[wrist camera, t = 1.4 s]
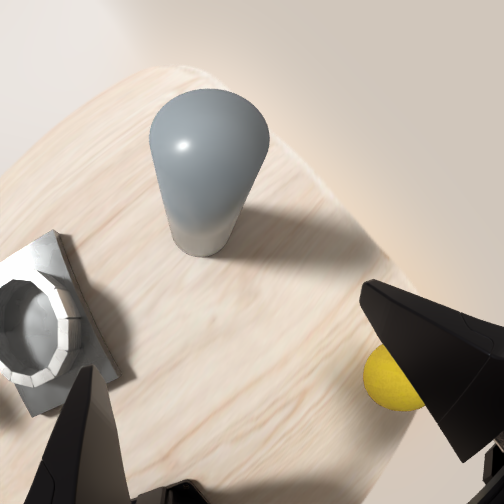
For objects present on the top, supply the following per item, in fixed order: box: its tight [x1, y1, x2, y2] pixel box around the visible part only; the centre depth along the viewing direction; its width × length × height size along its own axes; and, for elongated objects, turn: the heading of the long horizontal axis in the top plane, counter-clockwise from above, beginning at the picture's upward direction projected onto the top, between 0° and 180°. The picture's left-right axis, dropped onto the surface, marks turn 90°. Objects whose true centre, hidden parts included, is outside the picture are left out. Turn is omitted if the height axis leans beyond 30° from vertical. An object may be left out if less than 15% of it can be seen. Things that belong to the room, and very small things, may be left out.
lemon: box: [363, 344, 425, 411], centre depth 20 cm, size 6×6×8 cm
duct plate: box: [0, 230, 122, 417], centre depth 18 cm, size 12×9×4 cm
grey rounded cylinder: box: [149, 89, 270, 257], centre depth 17 cm, size 4×4×13 cm
